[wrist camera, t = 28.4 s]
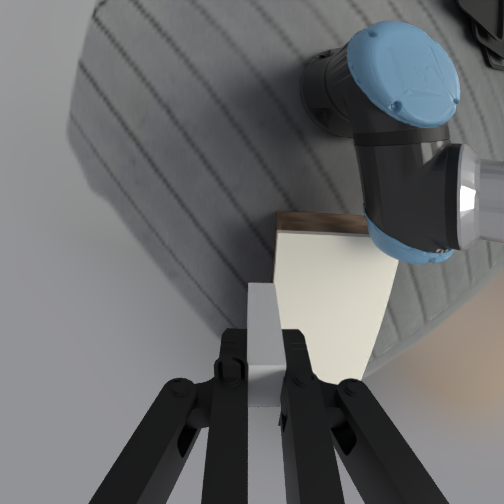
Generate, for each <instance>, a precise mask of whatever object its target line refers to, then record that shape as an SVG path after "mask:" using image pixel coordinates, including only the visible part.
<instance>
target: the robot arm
mask: <svg viewBox="0 0 504 504" xmlns="http://www.w3.org/2000/svg"><path fill="white" fill-rule="evenodd" d="M300 95H301V100H302V103H303V105H304V108H305V110H306V111H307V113H308V115H309V116H310V117H311V119H312V120H313V121H314V122H315V123H316V124H317V125H319V126H320V127H321V128H323V129H324V130H326V131H328V132H330V133H332V134H335V135H338V136H343V137H353V138H354V143H355V144H354V145H355V151H356V156H357V161H358V167H359V173H360V179H361V185H362V192H363V199H364V204H363V211H364V214H365V217H366V219H367V226H368V232H369V235H370V238H371V239H372V241H373V243H374V244H375V246H376V247H377V248H378V249H379V250H381V251H382V252H383V253H385V254H386V255H388V256H390V257H392V258H394V259H397V260H400V261H403V262H407V263H412V264H427V263H428V261H429V262H432V263H434V264H435V263H439V262H442V261H444V260H446V259H447V258H449V257H450V256H451V255H452V253H453V251H454V250H455V249H456V250H461V251H465V250H466V249H468V248H469V247H470V246H471V245H472V244H473V243H474V242H475V241H478V240H480V239H481V240H487V241H493V242H499V243H504V161H498V160H487V159H481V158H480V157H478V156H477V155H476V154H475V153H474V152H473V150H472V149H471V148H470V147H469V146H468V145H466V144H452V143H451V141H450V135H449V128H448V122H447V120H449V119H450V118H451V117H452V116H453V115H454V113H455V112H456V107H455V106H456V104H457V103H459V100H460V83H459V79H458V75H457V72H456V69H455V67H454V65H453V63H452V61H451V59H450V57H449V56H448V54H447V53H446V52H445V50H444V49H443V48H442V47H441V46H440V45H439V43H438V42H437V41H435V40H433V39H431V38H430V37H429V36H428V35H427V34H426V33H425V32H424V31H422V30H421V29H419V28H417V27H415V26H413V25H410V24H407V23H404V22H399V21H383V22H378V23H376V24H373V25H371V26H369V27H368V28H365V29H363V30H362V31H359V32H357V33H356V34H355V35H354V36H353V37H352V38H351V40H350V41H349V42H348V43H347V44H346V45H345V46H343V47H342V48H336V49H330V50H327V51H324V52H322V53H320V54H319V55H317V56H316V57H315V58H314V59H313V60H312V61H311V62H310V63H309V64H308V65H307V67H306V68H305V70H304V72H303V74H302V77H301V82H300ZM280 402H281V413H280V418H279V424H278V425H279V426H281V436H282V448H283V461H284V474H285V487H286V501H287V504H345V503H344V497H343V491H342V486H341V481H340V476H339V471H338V466H337V461H336V456H335V451H334V447H335V449H336V451H337V453H338V455H339V456H340V458H341V460H342V462H343V464H344V466H345V468H346V470H347V471H348V473H349V475H350V477H351V479H352V481H353V483H354V485H355V486H356V488H357V490H358V492H359V494H360V496H361V497H362V499H363V501H364V503H365V504H449V503H448V501H447V500H446V498H445V497H444V495H443V494H442V492H441V491H440V490H439V488H438V487H437V485H436V484H435V482H434V481H433V479H432V478H431V476H430V475H429V474H428V472H427V471H426V469H425V468H424V467H423V465H422V463H421V462H420V461H419V459H418V458H417V456H416V455H415V453H414V452H413V451H412V449H411V448H410V446H409V445H408V444H407V442H406V441H405V439H404V438H403V436H402V435H401V434H400V432H399V431H398V429H397V428H396V427H395V425H394V424H393V422H392V421H391V419H390V418H389V417H388V415H387V414H386V412H385V411H384V410H383V408H382V407H381V405H380V404H379V402H378V401H377V400H376V398H375V397H374V396H373V394H372V393H371V391H370V390H369V389H368V387H367V386H366V385H365V384H364V383H363V382H362V381H360V380H358V379H354V378H348V379H344V380H342V381H341V382H340V383H339V384H338V385H337V384H332V383H327V382H324V381H322V380H320V379H318V377H317V375H315V374H314V373H313V371H312V366H311V362H310V358H309V353H308V350H307V345H306V341H305V336H304V335H303V333H302V332H301V331H300V330H299V329H281V322H280V315H279V308H278V302H277V295H276V288H275V283H248V306H247V329H232V328H227V329H226V330H225V332H224V333H223V334H222V339H221V347H220V355H219V358H218V359H217V360H216V361H215V364H214V377H213V378H212V379H211V380H209V381H207V382H203V383H198V384H194V383H193V382H192V381H190V380H188V379H186V378H175V379H172V380H170V381H168V382H167V383H166V384H165V385H164V387H163V388H162V390H161V391H160V393H159V395H158V396H157V397H156V399H155V401H154V402H153V404H152V405H151V407H150V408H149V410H148V411H147V413H146V415H145V416H144V418H143V419H142V421H141V422H140V424H139V425H138V427H137V429H136V430H135V432H134V433H133V435H132V437H131V438H130V439H129V441H128V443H127V444H126V446H125V447H124V449H123V451H122V452H121V454H120V455H119V457H118V458H117V460H116V461H115V463H114V464H113V466H112V468H111V469H110V471H109V472H108V474H107V475H106V477H105V479H104V480H103V482H102V483H101V485H100V486H99V488H98V490H97V491H96V493H95V494H94V496H93V498H92V499H91V501H90V502H89V504H166V502H167V500H168V498H169V496H170V494H171V492H172V490H173V488H174V485H175V484H176V481H177V479H178V477H179V475H180V473H181V471H182V469H183V467H184V465H185V463H186V460H187V458H188V456H189V454H190V452H191V450H192V448H193V446H194V444H195V441H196V439H197V437H198V435H199V433H200V430H201V428H205V427H209V432H208V442H207V450H206V460H205V470H204V479H203V489H202V500H201V504H248V407H279V406H280ZM333 445H334V446H333Z"/></svg>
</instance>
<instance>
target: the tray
mask: <svg viewBox="0 0 504 504" xmlns="http://www.w3.org/2000/svg"><path fill="white" fill-rule="evenodd" d="M456 3H457V6H458V7H459V8H460V9H461V10H462V11H463V12H465V13H466V14H467V15H468V16H469V17H470V18H471V23H472V32H473V36H474V38H475V39H476V40H477V41H478V42H480V43H481V46H482V49H483V52H484V56H485V59H486V61H487V63H488V64H489V65H491V66H492V67H493V68H494V69H498V70H504V66H500V65H495V64H493V63H492V61H491V60H490V57H489V53H488V50H487V47H488V48H489V49H491V50H492V51H493V52H495V53H496V54H498V55H499V56H501V57H502V58H503V59H504V0H456Z"/></svg>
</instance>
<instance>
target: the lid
mask: <svg viewBox="0 0 504 504" xmlns="http://www.w3.org/2000/svg"><path fill="white" fill-rule="evenodd" d="M398 261H399V260H397V259H394V258H392V257H390V256H388V255H386V254H385V253H383V252H382V251H381V250H379V249H378V248H377V247H376V246H375V244H374V243H373V241H372V239H371V238H370V235H369V234H352V233H333V232H313V231H290V230H277V238H276V252H275V265H274V278H273V283H275V288H276V295H277V302H278V308H279V315H280V322H281V329H299V330H300V331H301V332H302V333H303V335H304V336H305V341H306V345H307V350H308V353H309V358H310V362H311V366H312V371H313V373H314V374H315V375H317V377H318V379H320V380H322V381H324V382H327V383H332V384H337V385H338V384H339V383H340V382H341V381H342V380H344V379H348V378H354V379H358V380H360V381H361V378H362V376H363V373H364V371H365V368H366V365H367V363H368V360H369V357H370V355H371V352H372V349H373V346H374V343H375V340H376V338H377V335H378V332H379V329H380V325H381V322H382V319H383V316H384V313H385V309H386V306H387V303H388V299H389V296H390V292H391V288H392V285H393V281H394V277H395V273H396V269H397V265H398Z"/></svg>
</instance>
